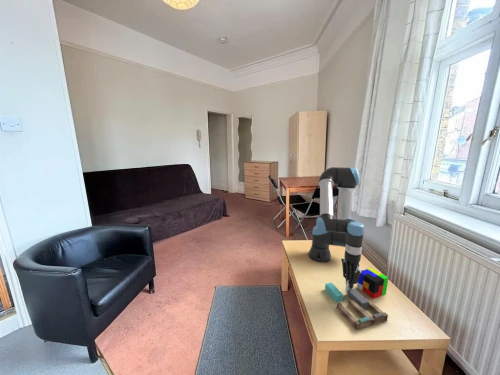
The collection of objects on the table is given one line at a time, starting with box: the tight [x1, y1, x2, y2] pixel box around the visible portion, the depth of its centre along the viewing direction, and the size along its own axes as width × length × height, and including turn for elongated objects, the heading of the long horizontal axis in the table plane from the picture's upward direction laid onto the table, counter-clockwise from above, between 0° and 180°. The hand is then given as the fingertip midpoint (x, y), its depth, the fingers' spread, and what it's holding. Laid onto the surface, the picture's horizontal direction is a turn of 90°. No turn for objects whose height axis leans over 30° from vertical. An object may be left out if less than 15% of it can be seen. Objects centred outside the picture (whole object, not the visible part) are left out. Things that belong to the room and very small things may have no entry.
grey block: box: [346, 287, 369, 311], centre depth 106 cm, size 10×4×4 cm, turn 16°
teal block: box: [324, 282, 344, 303], centre depth 111 cm, size 10×4×4 cm, turn 13°
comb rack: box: [335, 296, 389, 331], centre depth 99 cm, size 13×18×4 cm
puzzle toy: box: [356, 267, 389, 300], centre depth 114 cm, size 10×10×10 cm
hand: (348, 292), depth 111 cm, fingers closed
